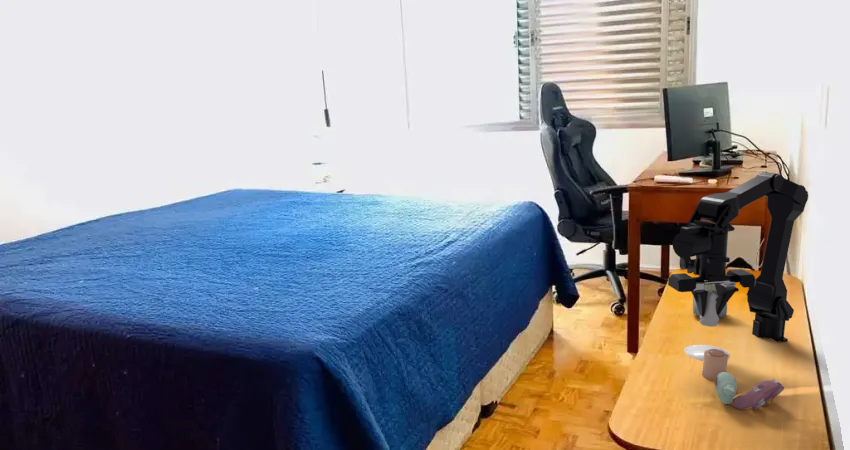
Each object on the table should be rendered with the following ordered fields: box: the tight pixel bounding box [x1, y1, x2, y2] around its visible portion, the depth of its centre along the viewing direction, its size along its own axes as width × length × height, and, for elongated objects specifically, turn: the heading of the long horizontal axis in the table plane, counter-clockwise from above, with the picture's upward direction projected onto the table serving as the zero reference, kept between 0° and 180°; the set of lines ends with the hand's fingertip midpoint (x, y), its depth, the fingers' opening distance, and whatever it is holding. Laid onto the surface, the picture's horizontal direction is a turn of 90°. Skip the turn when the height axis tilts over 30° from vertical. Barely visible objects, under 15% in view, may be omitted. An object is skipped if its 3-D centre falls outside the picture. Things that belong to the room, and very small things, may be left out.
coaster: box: [684, 344, 731, 361], centre depth 160 cm, size 10×10×1 cm
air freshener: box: [692, 280, 728, 319], centre depth 186 cm, size 11×8×10 cm
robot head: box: [714, 371, 738, 405], centre depth 137 cm, size 8×4×7 cm, turn 158°
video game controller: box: [732, 378, 785, 411], centre depth 135 cm, size 10×5×7 cm, turn 122°
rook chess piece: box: [698, 290, 720, 328], centre depth 158 cm, size 4×4×8 cm
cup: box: [701, 349, 729, 382], centre depth 148 cm, size 5×5×7 cm
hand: (709, 315), depth 158 cm, fingers closed on rook chess piece, 3 cm apart
